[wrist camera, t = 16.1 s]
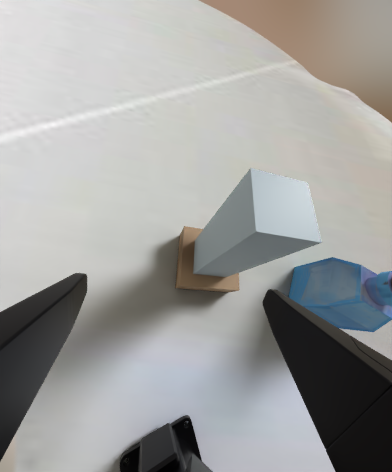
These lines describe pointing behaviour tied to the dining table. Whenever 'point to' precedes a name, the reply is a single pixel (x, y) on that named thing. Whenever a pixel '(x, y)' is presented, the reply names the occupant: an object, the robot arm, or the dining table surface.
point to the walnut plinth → (186, 263)
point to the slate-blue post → (257, 225)
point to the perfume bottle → (344, 293)
